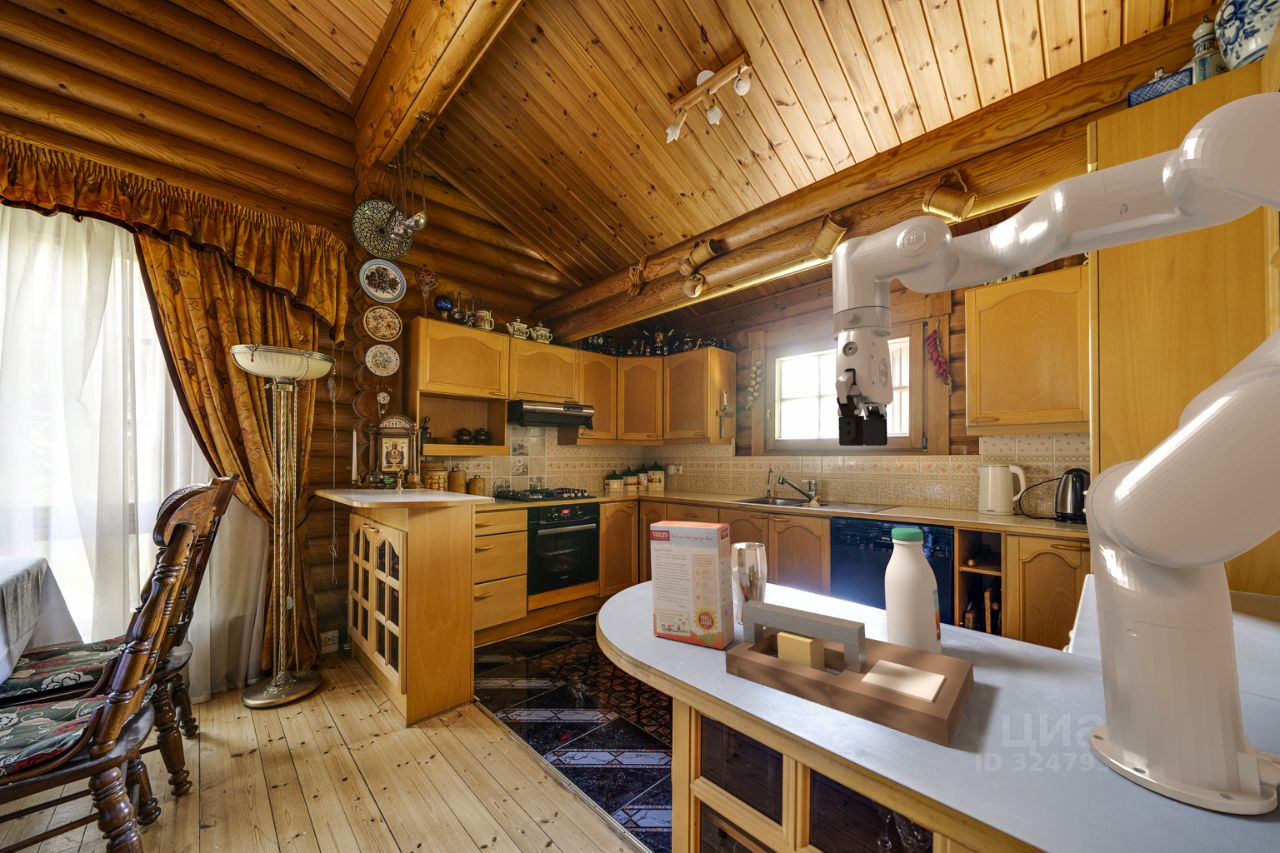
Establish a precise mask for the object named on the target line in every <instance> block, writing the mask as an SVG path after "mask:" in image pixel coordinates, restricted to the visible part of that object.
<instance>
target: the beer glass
mask: <svg viewBox="0 0 1280 853" xmlns="http://www.w3.org/2000/svg"><path fill="white" fill-rule="evenodd" d="M765 546H766V545H765V544H764V543H760V542H750V541H749V542H747V541H744V542H736V543H732V544H731V571H732V583H733V587H734V590H735V591H734V592H735V595H736V596H735V597H736V614H735V622H736V623H737V624H739V625H741V626H743V612H742V604H744V603H746V602H748V601H750V600H755V601H759V602H764V603H765V596H766V595H765V594H766V586H767V578H768V576H767V575H768V564H767V555H766V547H765Z"/></svg>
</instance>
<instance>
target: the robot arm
mask: <svg viewBox="0 0 1280 853" xmlns="http://www.w3.org/2000/svg"><path fill="white" fill-rule="evenodd" d="M1261 206H1262V207H1265V208H1267V209H1270V210H1275V211H1277V212H1280V91H1276V92H1275V91H1270V92H1264V93H1257V94H1252V95H1249V96H1245V97H1243V98H1238V99H1234V100H1233V101H1230V102H1228V103H1226V104H1224V105H1221V106H1220V107H1218V108H1216V109H1214V110H1213V111H1211V112H1210V113H1208V114H1207V115H1205V116H1203V118H1201V119H1200V120H1198V121H1197V122H1196V123H1195V125H1194V126H1193V127H1192V128H1191V129H1190V130H1189V131H1188V132H1187V134H1186V135H1185V137H1184V139H1183V140H1182V141H1181V143H1180V146H1179V147H1178V148H1175V149H1171V150H1167V151H1164V152H1160V153H1157V154H1153V155H1151V156H1147V157H1143V158H1139V159H1136V160H1135V159H1134V160H1132V161H1129V162H1124V163H1121V164H1117V165H1114V166H1111V167H1107V168H1103V169H1099V170H1095V171H1091V172H1088V173H1085V174H1080V175H1076V176H1073V177H1070V178H1066V179H1063V180H1060V181H1058V182H1057V183H1055V184H1053V185H1051V186H1050V187H1049V188H1047V189H1046V190H1044V191H1043V192H1041V193H1040V194H1039V195H1038V196H1036V197H1035V198H1034V199H1033V200H1031V201H1030V202H1029V203H1028V204H1026V205H1025V207H1023V208H1022V209H1021V210H1020V211H1018V212H1017V213H1015V214H1014V215H1012V216H1011V217H1008V218H1007V219H1006V220H1004V221H1001V222H999V223H997V224H995V225H992V226H990V227H988V228H984V229H981V230H978V231H975V232H971V233H968V234H963V235H959V236H955V237H953V235H952V232H951V229H950V227H949V226H948V224H947V223H946V222H945V221H944V220H943V219H941V218H939V217H937V216H934V215H920V216H915V217H912V218H909V219H907V220H903V221H901V222H899V223H896V224H894V225H893V226H890V227H887V228H885V229H883V230H881V231H879V232H875V233H874V234H871V235H862V236H855V237H853V238H849V239H846V240H844V241H843V242H841V243H840V244H838V245H837V246H836V248H835V249H833V250H834V251H833V253H832V257H831V258H832V259H831V261H832V262H831V265H832V269H831V270H832V272H831V275H832V307H833V308H832V311H833V321H832V322H833V326H832V327H833V340H834V341H836V342H837V344H836V361H835V363H836V364H835V390H836V403H837V404H838V406H837V416H838V417H837V418H838V445H840V446H841V447H844V446H845V447H849V446H850V447H853V446H854V447H857V446H858V447H863V446H867V447H868V446H869V447H871V446H872V447H873V446H874V447H875V446H876V447H877V446H881V447H882V446H885V447H886V446H887V445H888V413H887V407H888V405H889V406H890V405H891V404H892V403H893V400H894V391H893V378H892V364H891V363H892V362H891V355H890V347H889V342H888V337H890V336H891V335H892V311H891V282H892V280H894V279H895V280H896V279H897V280H899V282H900V283H901V284H902V285H903V286H904V287H905V288H906V289H907V290H910V291H911V292H915V293H918V294H919V293H920V294H921V293H922V294H932V293H933V294H934V293H941V292H946V291H951V290H957V289H962V288H967V287H972V286H973V287H974V286H978V285H982V284H986V283H990V282H993V281H998V280H1001V279H1005V278H1007V277H1010V276H1013V275H1016V274H1020V273H1022V272H1025V271H1026V272H1027V271H1028V270H1031V269H1034V268H1037V267H1041V266H1044V265H1047V264H1048V263H1051V262H1053V261H1057V260H1059V259H1061V258H1062V259H1064V258H1066V257H1072V256H1075V255H1079V254H1086V253H1089V252H1094V251H1099V250H1103V249H1109V248H1114V247H1120V246H1123V245H1124V246H1125V245H1128V244H1134V243H1138V242H1143V241H1148V240H1154V239H1160V238H1165V237H1170V236H1174V235H1178V234H1184V233H1189V232H1193V231H1198V230H1204V229H1207V228H1212V227H1217V226H1219V225H1223V224H1227V223H1231V222H1233V221H1236V220H1238V219H1241V218H1242V217H1244V216H1246V215H1248V214H1250V213H1252V212H1255V210H1257V209H1258V208H1260V207H1261ZM862 412H863V413H864V415H862ZM1177 427H1178V428H1176V429H1175V430H1174V431H1173V432H1172V433H1171V434H1169V435H1168V436H1167V437H1166V438H1165V439H1164V440H1162V441H1161V442H1160V443H1159V444H1157V445H1156V446H1155V447H1154V448H1153V449H1152V450H1150V451H1149V452H1148V453H1147V454H1146V455H1144V456H1143V457H1142V458H1141V459H1135V460H1134V459H1133V460H1128V461H1123V462H1120V463H1117V464H1113V465H1112V466H1109V467H1107V468H1106V469H1104V470H1103V471H1101V472H1100V473H1099V474H1098V475H1097V476H1096V477H1094V479H1093V480H1092V481H1091V482H1090V485H1089V487H1088V489H1087V491H1086V496H1085V500H1084V501H1085V502H1084V503H1085V504H1084V505H1085V506H1084V508H1085V511H1084V512H1085V519H1086V526H1087V533H1088V538H1089V545H1090V551H1091V558H1092V559H1091V560H1092V567H1093V568H1092V569H1093V575H1094V576H1093V580H1094V586H1095V587H1094V588H1095V597H1096V598H1095V599H1096V615H1097V616H1096V617H1097V625H1098V626H1097V627H1098V640H1099V648H1100V661H1101V671H1102V683H1103V684H1102V686H1103V694H1104V695H1103V698H1104V707H1105V719H1106V724H1100V725H1097V726H1094V727H1093V728H1092V729H1090V730H1089V732H1088V742H1089V744H1090V745H1089V747H1090V746H1091V747H1090V749H1092V750H1091V751H1092V753H1094V755H1095V756H1096V757H1097V758H1098V759H1099V760H1100V761H1101V762H1103V763H1104V764H1105V765H1106V767H1108V768H1110V769H1112V770H1113V771H1114V772H1116V773H1117V774H1119V775H1121V776H1123V777H1124V778H1125V779H1128V780H1129V781H1132V782H1134V783H1135V784H1138V785H1139V786H1142V787H1143V788H1146V789H1148V790H1151V791H1153V792H1156V793H1158V794H1160V795H1163V796H1165V797H1167V798H1170V799H1174V800H1177V801H1180V802H1182V803H1185V804H1188V805H1192V806H1196V807H1199V808H1203V809H1208V810H1211V811H1217V812H1221V813H1227V814H1236V815H1248V816H1249V815H1260V814H1268V813H1269V812H1272V811H1274V810H1276V807H1277V806H1278V804H1279V803H1278V795H1277V794H1278V793H1277V790H1276V789H1277V788H1278V786H1280V754H1272V753H1269V752H1264V751H1261V750H1258V747H1256V746H1252V745H1251V743H1250V742H1249V740H1248V738H1247V736H1246V735H1245V733H1244V723H1243V714H1242V704H1241V694H1240V685H1239V676H1238V675H1239V674H1238V673H1239V672H1238V664H1237V655H1236V644H1235V635H1234V628H1233V627H1234V619H1233V608H1232V601H1231V600H1232V599H1231V595H1230V594H1231V593H1230V587H1229V582H1228V578H1227V577H1228V576H1227V573H1226V568H1225V564H1224V563H1226V562H1228V561H1230V560H1231V561H1232V560H1233V559H1235V558H1237V557H1239V556H1240V555H1243V554H1244V553H1246V552H1248V551H1250V550H1252V549H1253V548H1255V547H1256V546H1259V544H1261V543H1263V542H1264V541H1266V540H1267V539H1269V538H1270V537H1271V536H1273V535H1275V533H1278V532H1279V531H1280V326H1279V327H1278V328H1277V329H1276V330H1274V331H1273V332H1272V333H1271V335H1269V337H1267V338H1266V339H1265V340H1264V341H1263V342H1262V343H1261V344H1260V345H1259V346H1258V347H1257V348H1255V349H1254V350H1253V351H1251V353H1250V354H1248V355H1247V356H1246V357H1244V359H1242V360H1241V361H1240V362H1239V363H1237V364H1236V365H1235V366H1234V367H1233V368H1231V369H1230V370H1229V371H1228V372H1227V373H1225V374H1224V375H1223V376H1222V377H1220V378H1219V379H1218V380H1217V381H1216V382H1214V383H1213V384H1211V385H1210V386H1209V387H1207V388H1206V389H1204V390H1203V391H1201V392H1200V393H1198V394H1197V395H1196V396H1195V397H1193V398H1192V399H1191V401H1190V402H1189V403H1188V404H1187V405H1186V406H1185V408H1184V409H1183V411H1182V413H1181V414H1180V417H1179V421H1178V425H1177Z"/></svg>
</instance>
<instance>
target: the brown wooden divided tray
mask: <svg viewBox="0 0 1280 853" xmlns="http://www.w3.org/2000/svg"><path fill="white" fill-rule="evenodd" d="M763 631H764V638H763V639H761V640H760V641H758V642H757V643H755V644H754V643H750V642H747V641H744V640H743V641H742V642H740V643H738V644H737V645H735V646H734V647H732V648H730V649H729V650H727V651H725V672H727V674H729V673H730V675H733V676H735V675H736V677H738V678H741V679H745V680H747V681H749V682H750V681H751V682H754V683H757V684H759V685H762V686H765V687H768V688H771V689H774V690H778V691H780V692H783V693H786V694H788V695H792V696H795V697H798V698H801V699H804V700H806V701H810V702H813V703H816V704H819V705H822V706H825V707H827V708H830V709H834V710H837V711H839V712H842V713H845V714H848V715H851V716H854V717H857V718H860V719H864V720H867V721H870V722H872V723H875V724H878V725H881V726H883V727H887V728H890V729H893V730H895V731H899V732H902V733H904V734H907V735H911V736H913V737H917V738H919V739H923V740H926V741H929V742H931V743H935V744H937V745H941V746H943V747H946V748H949V746H950V744H951V741H952V740H953V736H954V733H955V731H956V729H957V727H958V725H959V722H960V719H961V717H962V715H963V712H964V709H965V707H966V704H967V702H968V700H969V697H970V695H971V691H972V690H973V687H974V685H975V681H974V680H975V679H974V665H973V663H974V662H973V661H971V660H966V659H962V658H958V657H954V656H948V655H944V654H941V655H940V654H936V653H932V652H927V651H923V650H918V649H914V648H910V647H905V646H901V645H896V644H892V643H888V641H887V642H886V641H883V640H879V639H878V640H877V639H875V638H874V639H873V638H870V637H869V638H868V637H865V640H866V658H867V666H866V667H865V668H864V669H863V670H862V671H861V672H860V673H859V672H855V671H852V670H848V669H845V662H844V644H840V643H836V642H831V641H827V640H823V644H824V664H825V669H830V670H832V671H836V672H840V673H839V675H837V674H833V673H830V672H827V671H825V672H823V671H820V670H816V669H813V668H809V667H806V666H802V665H799V664H795V663H792V662H789V661H785V660H782V659H778V657H774V656H772V655H770V654H775V655H778V638H777V634H779V633H780V632H782V631H783V630H782V629H778V628H774V627H770V626H766V627H765V628H763Z"/></svg>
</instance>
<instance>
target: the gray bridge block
mask: <svg viewBox="0 0 1280 853" xmlns="http://www.w3.org/2000/svg"><path fill="white" fill-rule="evenodd" d="M742 612H743V625H742V631H743V641H747V642H750V643H754V644H755V643H757V642H758V641H760V640H761V639H763V638H764V631H763V629H764V626H765V627H768V626H770V627H774V628H778V629H782V630H786V631H790V632H794V633H798V634H803V635H807V636H811V637H815V638H819V639H823V640H827V641H831V642H836V643H840V644H844V662H845V669H848V670H852V671H855V672H859V673H860V672H861V671H862V670H863V669H864V668H865V667H866V666H867V658H866V640H865V638H866V626H865V625H866V623H864V622H859V621H856V620H851V619H845V618H841V617H835V616H831V615H825V614H822V613H817V612H813V611H812V612H811V611H807V610H802V609H797V608H792V607H788V606H783V605H779V604H778V605H777V604H773V603H769V602H768V603H767V602H765V601H764V602H759V601H755V600H750V601H748V602H746V603H744V604H742Z"/></svg>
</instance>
